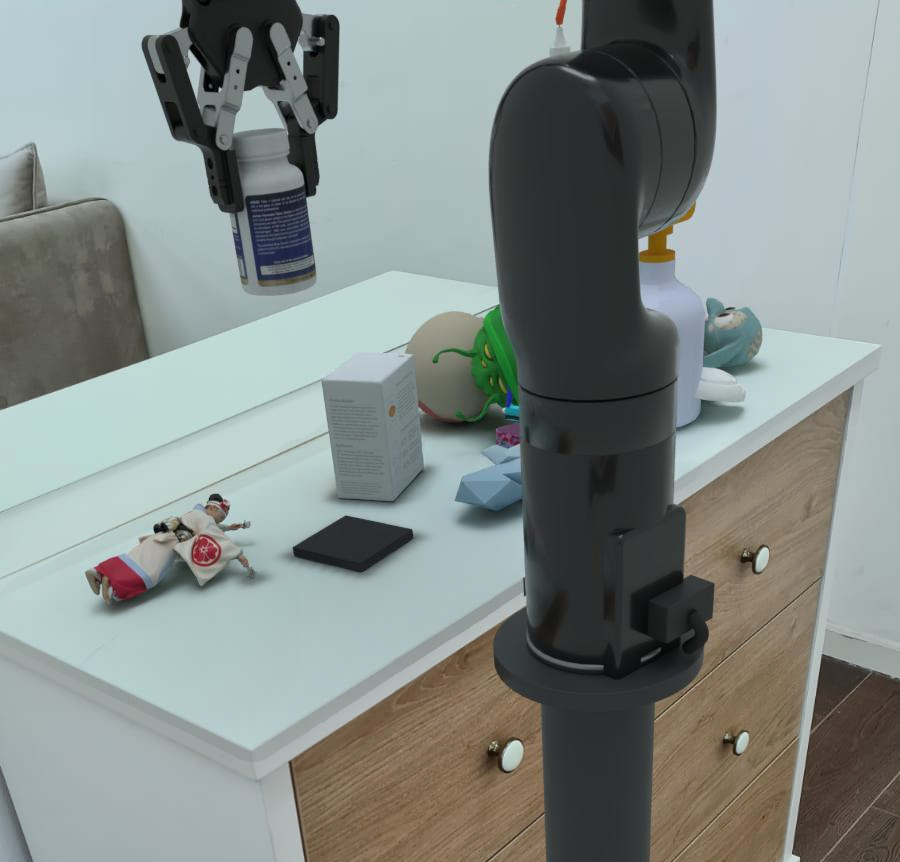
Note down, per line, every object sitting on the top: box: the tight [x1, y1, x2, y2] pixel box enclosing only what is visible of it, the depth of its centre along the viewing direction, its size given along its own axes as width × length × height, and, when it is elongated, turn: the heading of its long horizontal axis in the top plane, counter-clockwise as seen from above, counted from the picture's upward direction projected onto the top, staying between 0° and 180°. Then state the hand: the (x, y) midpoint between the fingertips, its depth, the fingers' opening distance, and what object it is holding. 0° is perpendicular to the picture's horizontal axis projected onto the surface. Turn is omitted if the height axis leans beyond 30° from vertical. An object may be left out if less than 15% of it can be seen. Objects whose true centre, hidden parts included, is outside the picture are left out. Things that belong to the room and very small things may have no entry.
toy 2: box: [404, 310, 490, 423], centre depth 116 cm, size 10×12×10 cm
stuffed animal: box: [703, 297, 763, 369], centre depth 125 cm, size 11×7×12 cm
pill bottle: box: [228, 127, 318, 297], centre depth 81 cm, size 5×5×10 cm
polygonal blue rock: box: [453, 443, 522, 512], centre depth 99 cm, size 13×7×5 cm, turn 135°
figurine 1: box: [84, 493, 258, 606], centre depth 93 cm, size 6×8×15 cm
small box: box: [321, 351, 425, 502], centre depth 103 cm, size 8×6×10 cm
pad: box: [292, 514, 414, 573], centre depth 95 cm, size 7×7×1 cm
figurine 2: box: [432, 304, 519, 422], centre depth 108 cm, size 13×15×10 cm
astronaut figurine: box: [695, 367, 747, 403], centre depth 115 cm, size 9×12×3 cm
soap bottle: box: [639, 200, 706, 429], centre depth 107 cm, size 9×9×25 cm
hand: (268, 202), depth 80 cm, fingers closed on pill bottle, 5 cm apart
